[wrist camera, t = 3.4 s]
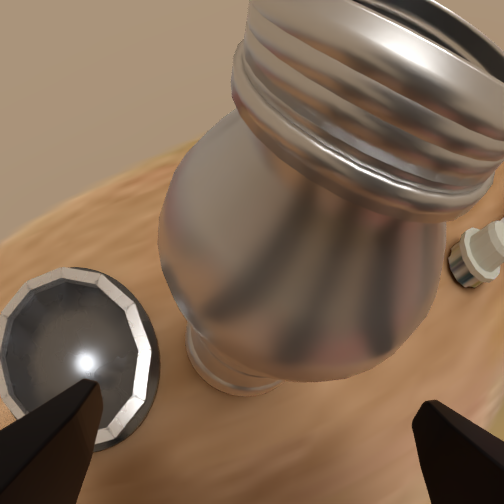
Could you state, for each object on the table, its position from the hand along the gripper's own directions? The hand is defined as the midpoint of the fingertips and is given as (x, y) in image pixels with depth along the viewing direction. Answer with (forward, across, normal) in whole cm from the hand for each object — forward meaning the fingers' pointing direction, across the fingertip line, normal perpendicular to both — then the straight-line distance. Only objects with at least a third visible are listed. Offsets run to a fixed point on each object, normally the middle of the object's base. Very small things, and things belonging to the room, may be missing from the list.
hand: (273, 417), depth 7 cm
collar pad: (+10, +11, +8) cm, 17 cm away
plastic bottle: (+12, 0, +6) cm, 13 cm away
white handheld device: (+21, -30, -3) cm, 37 cm away
